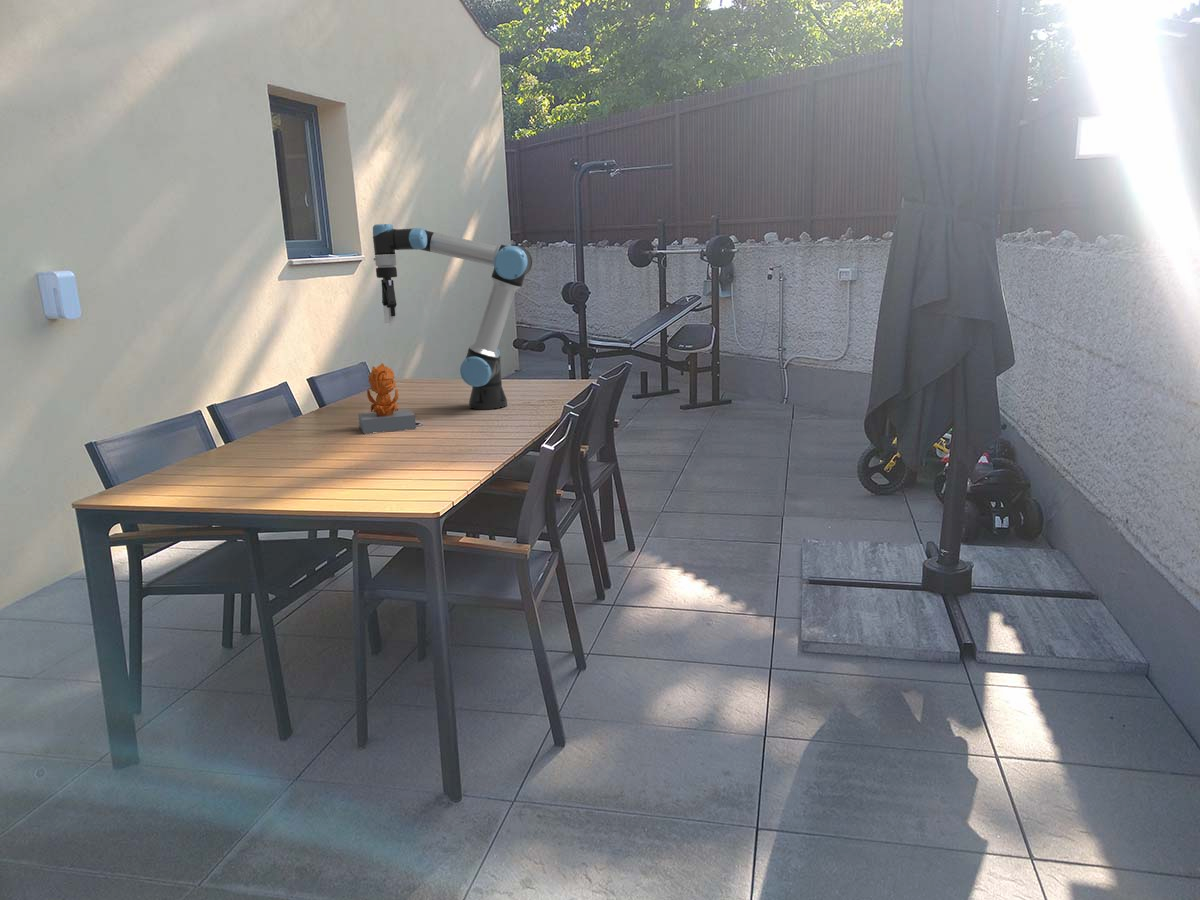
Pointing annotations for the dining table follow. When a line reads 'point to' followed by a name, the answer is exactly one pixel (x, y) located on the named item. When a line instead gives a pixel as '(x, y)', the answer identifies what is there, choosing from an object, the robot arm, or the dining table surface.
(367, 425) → the base brick
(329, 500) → the dining table surface
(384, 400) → the orange upright figure
